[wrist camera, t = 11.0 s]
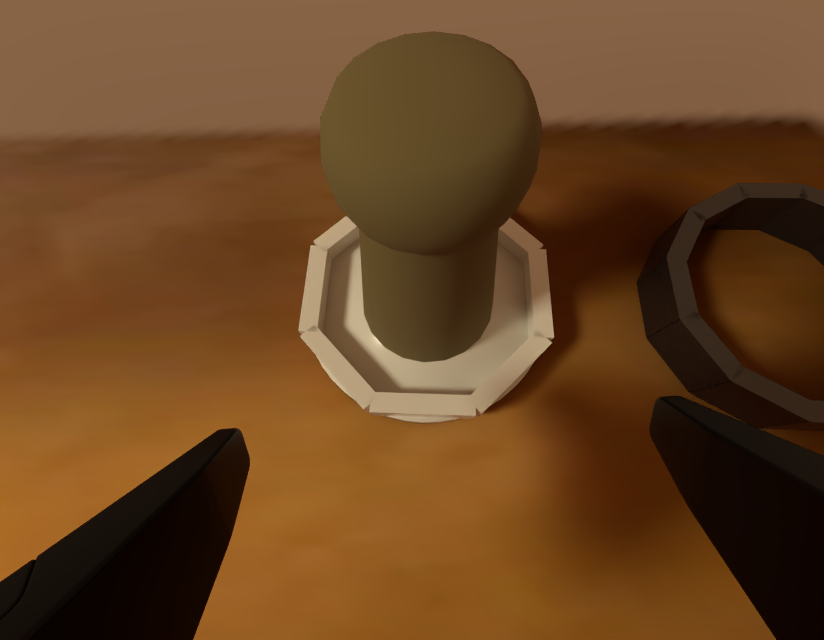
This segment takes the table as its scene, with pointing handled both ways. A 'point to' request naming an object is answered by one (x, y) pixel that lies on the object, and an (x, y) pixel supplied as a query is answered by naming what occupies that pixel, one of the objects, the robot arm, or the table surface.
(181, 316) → the table surface
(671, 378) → the table surface
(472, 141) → the cork
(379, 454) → the table surface
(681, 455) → the robot arm
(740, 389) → the dark grey ring
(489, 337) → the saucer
